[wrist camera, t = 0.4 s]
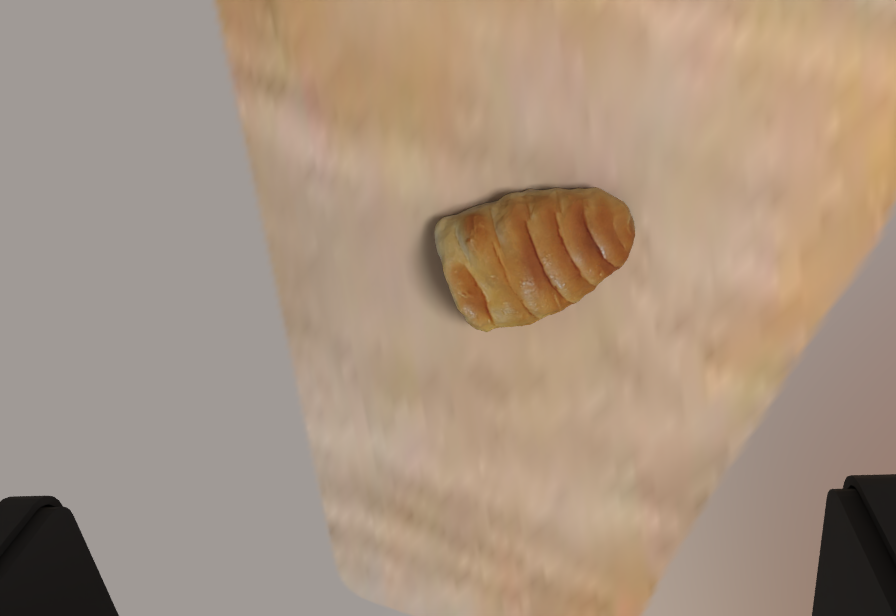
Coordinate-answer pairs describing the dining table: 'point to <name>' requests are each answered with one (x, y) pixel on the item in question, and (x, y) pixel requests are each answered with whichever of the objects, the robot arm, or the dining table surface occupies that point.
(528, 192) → the pastry
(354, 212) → the dining table surface
